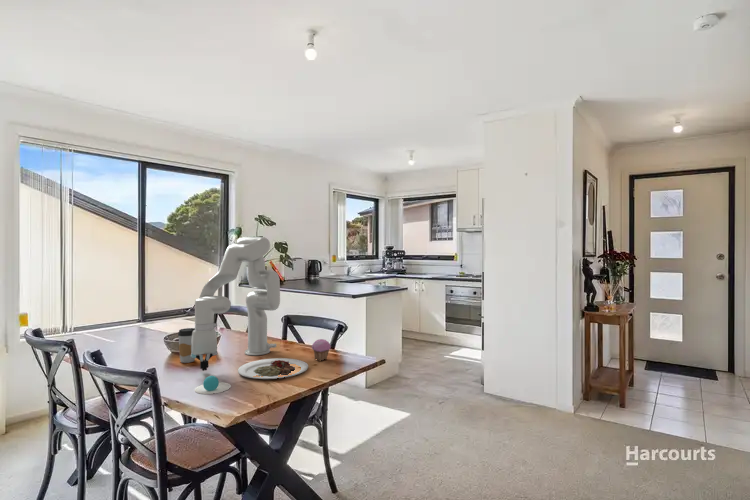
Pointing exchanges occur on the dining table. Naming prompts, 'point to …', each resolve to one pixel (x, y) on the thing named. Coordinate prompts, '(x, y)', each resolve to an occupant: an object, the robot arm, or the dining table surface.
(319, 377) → the dining table surface
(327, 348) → the cupcake
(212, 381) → the ball
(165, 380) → the dining table surface
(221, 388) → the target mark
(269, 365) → the plated food
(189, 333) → the coffee cup
